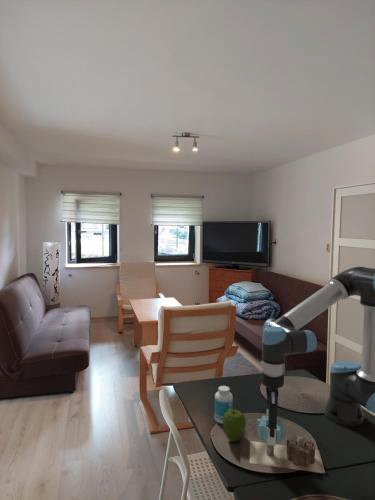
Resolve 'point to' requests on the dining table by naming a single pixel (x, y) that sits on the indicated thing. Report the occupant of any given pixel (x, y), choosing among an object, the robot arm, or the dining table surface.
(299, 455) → the gear
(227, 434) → the apple
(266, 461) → the gear board
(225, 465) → the dining table surface
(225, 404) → the pill bottle
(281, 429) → the gear
